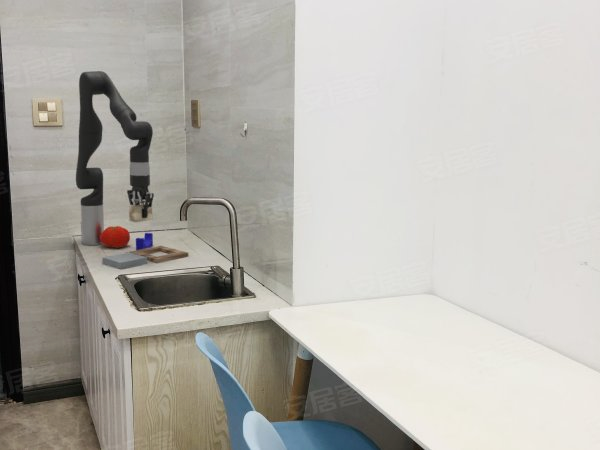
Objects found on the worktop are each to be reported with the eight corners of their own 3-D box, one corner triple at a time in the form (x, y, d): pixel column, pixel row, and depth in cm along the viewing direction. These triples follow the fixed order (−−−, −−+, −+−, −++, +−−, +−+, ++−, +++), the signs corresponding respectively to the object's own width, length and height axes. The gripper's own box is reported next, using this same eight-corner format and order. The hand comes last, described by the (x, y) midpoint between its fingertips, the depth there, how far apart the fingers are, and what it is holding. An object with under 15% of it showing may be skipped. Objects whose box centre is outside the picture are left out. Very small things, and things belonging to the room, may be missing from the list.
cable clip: (142, 246, 271) (142, 232, 270) (152, 246, 271) (152, 233, 270) (132, 252, 260) (132, 238, 259) (143, 253, 259) (142, 238, 258)
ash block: (129, 221, 242) (128, 205, 241) (146, 218, 249) (145, 203, 247) (135, 222, 240) (135, 207, 239) (152, 219, 246) (152, 204, 245)
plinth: (102, 263, 240) (102, 257, 240) (128, 258, 249) (128, 252, 249) (120, 269, 233) (120, 262, 232) (147, 263, 242) (147, 257, 241)
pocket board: (129, 255, 254) (129, 251, 254) (160, 249, 266) (160, 245, 266) (156, 263, 243) (156, 259, 242) (188, 256, 255) (188, 252, 254)
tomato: (98, 244, 271) (97, 225, 270) (127, 242, 276) (127, 223, 275) (102, 251, 260) (101, 231, 258) (132, 248, 265) (132, 229, 264)
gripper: (120, 172, 242) (121, 216, 245) (143, 175, 233) (144, 220, 237) (136, 171, 248) (137, 213, 251) (159, 174, 239) (160, 218, 243)
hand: (140, 217), depth 244 cm, fingers closed on ash block, 4 cm apart
